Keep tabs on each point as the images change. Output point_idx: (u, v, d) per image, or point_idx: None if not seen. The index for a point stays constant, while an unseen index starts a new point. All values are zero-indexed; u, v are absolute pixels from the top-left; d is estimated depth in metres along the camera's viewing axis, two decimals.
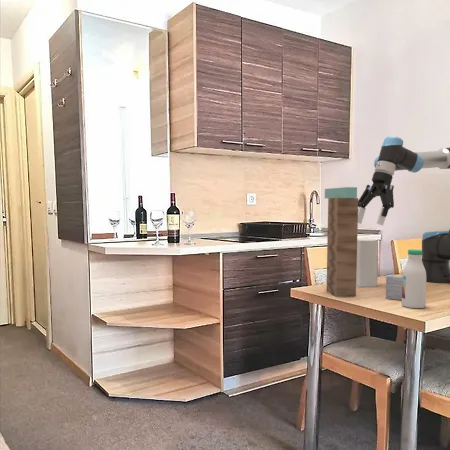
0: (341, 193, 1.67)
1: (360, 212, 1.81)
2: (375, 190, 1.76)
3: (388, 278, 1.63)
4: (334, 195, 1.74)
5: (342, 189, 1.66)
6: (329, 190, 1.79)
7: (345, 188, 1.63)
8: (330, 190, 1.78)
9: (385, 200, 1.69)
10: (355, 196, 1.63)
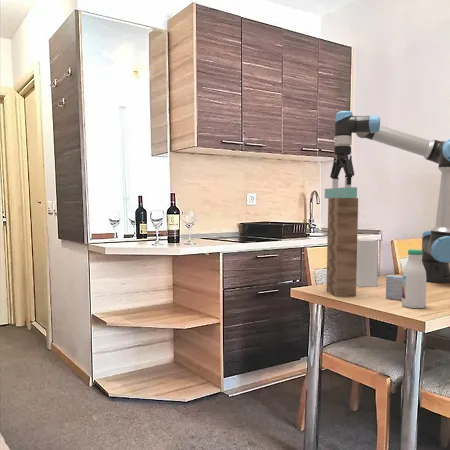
0: (341, 193, 1.67)
1: (334, 183, 2.06)
2: (339, 162, 1.99)
3: (388, 278, 1.63)
4: (334, 195, 1.74)
5: (342, 189, 1.66)
6: (329, 190, 1.79)
7: (345, 188, 1.63)
8: (330, 190, 1.78)
9: None
10: (355, 196, 1.63)
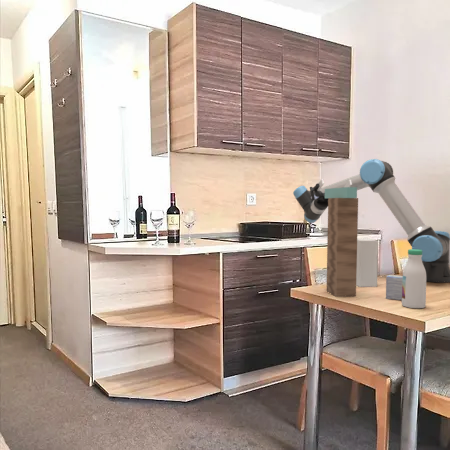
0: (341, 193, 1.67)
1: None
2: (327, 198, 2.11)
3: (388, 278, 1.63)
4: (334, 195, 1.74)
5: (342, 189, 1.66)
6: (329, 190, 1.79)
7: (345, 188, 1.63)
8: (330, 190, 1.78)
9: None
10: (355, 196, 1.63)
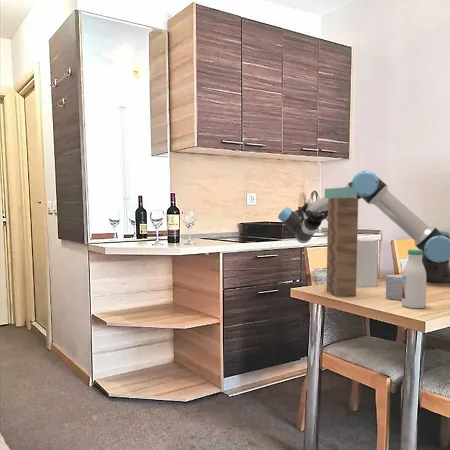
0: (341, 193, 1.67)
1: None
2: (317, 218, 1.98)
3: (388, 278, 1.63)
4: (334, 195, 1.74)
5: (342, 189, 1.66)
6: (329, 190, 1.79)
7: (345, 188, 1.63)
8: (330, 190, 1.78)
9: None
10: (355, 196, 1.63)
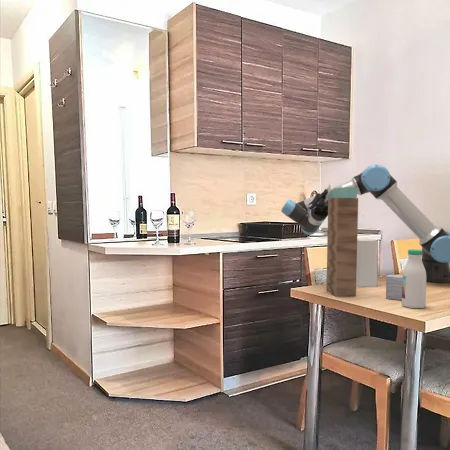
0: (341, 193, 1.67)
1: None
2: (325, 208, 1.89)
3: (388, 278, 1.63)
4: (334, 195, 1.74)
5: (342, 189, 1.66)
6: None
7: (345, 188, 1.63)
8: None
9: (321, 199, 1.84)
10: (355, 196, 1.63)
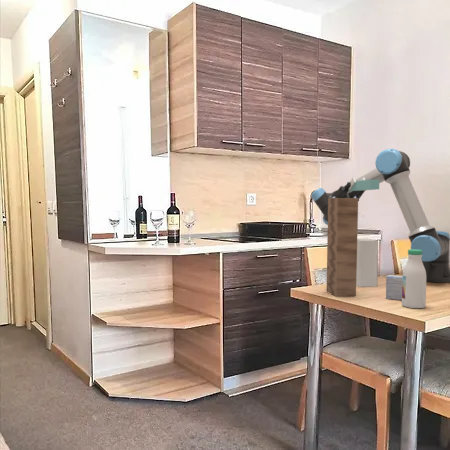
0: (364, 185, 1.84)
1: None
2: None
3: (388, 278, 1.63)
4: (357, 187, 1.91)
5: (365, 181, 1.83)
6: None
7: (368, 180, 1.80)
8: None
9: (344, 192, 2.01)
10: (377, 187, 1.80)
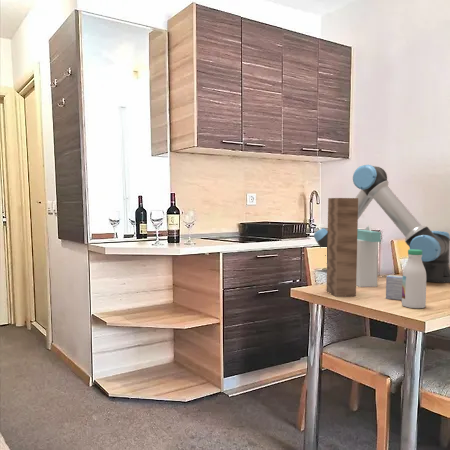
0: (366, 236, 1.85)
1: None
2: None
3: (388, 278, 1.63)
4: (358, 237, 1.92)
5: (367, 233, 1.84)
6: None
7: (370, 233, 1.81)
8: None
9: None
10: (379, 240, 1.81)
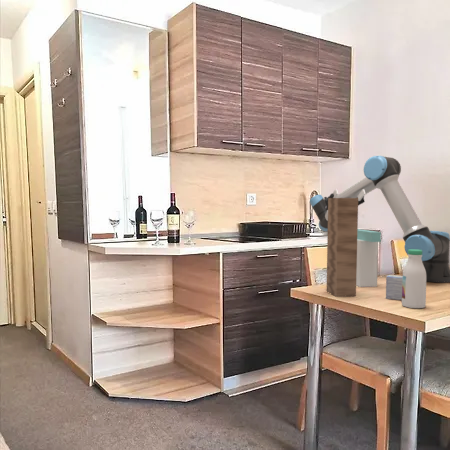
0: (366, 236, 1.85)
1: (360, 197, 2.09)
2: None
3: (388, 278, 1.63)
4: (358, 237, 1.92)
5: (367, 233, 1.84)
6: None
7: (370, 233, 1.81)
8: None
9: None
10: (379, 240, 1.81)
